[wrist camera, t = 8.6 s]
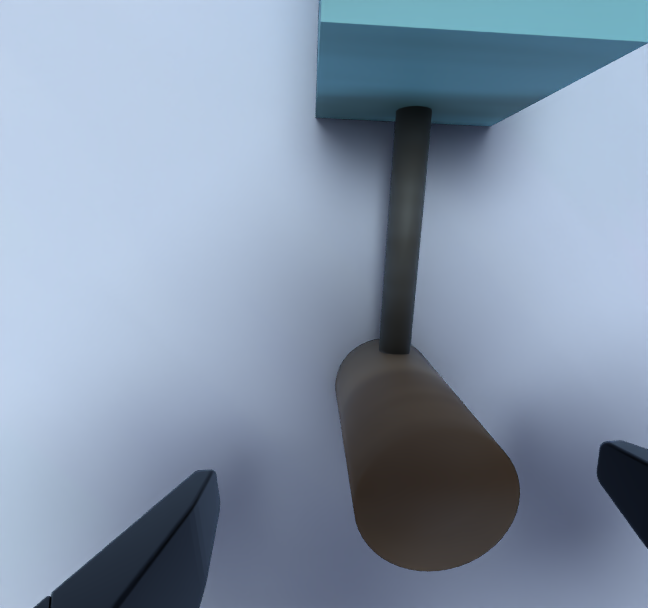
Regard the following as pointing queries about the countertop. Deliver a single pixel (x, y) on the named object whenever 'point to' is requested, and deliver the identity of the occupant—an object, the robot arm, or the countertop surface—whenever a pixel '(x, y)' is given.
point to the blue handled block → (404, 241)
